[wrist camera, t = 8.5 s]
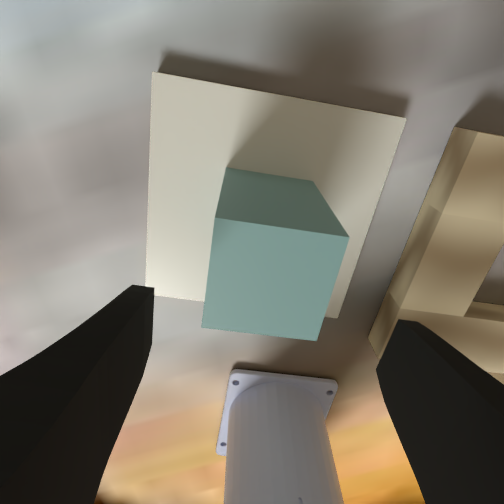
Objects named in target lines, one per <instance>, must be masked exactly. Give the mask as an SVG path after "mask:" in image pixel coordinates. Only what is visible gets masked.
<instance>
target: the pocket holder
mask: <svg viewBox="0 0 504 504" xmlns="http://www.w3.org/2000/svg"><path fill="white" fill-rule="evenodd" d="M503 244H504V136H502V135H496V134H491V133H486V132H480V131H475V130H469V129H464V128H458V127H454V129H453V131H452V133H451V136H450V138H449V141H448V143H447V146H446V148H445V151H444V153H443V155H442V158H441V160H440V163H439V165H438V168H437V170H436V173H435V175H434V177H433V180H432V182H431V185H430V187H429V190H428V192H427V194H426V197H425V199H424V202H423V204H422V207H421V209H420V212H419V214H418V216H417V219H416V221H415V224H414V226H413V229H412V231H411V234H410V236H409V238H408V241H407V243H406V246H405V248H404V251H403V253H402V256H401V258H400V260H399V263H398V265H397V268H396V270H395V273H394V275H393V278H392V280H391V282H390V285H389V287H388V290H387V292H386V295H385V297H384V300H383V302H382V304H381V307H380V309H379V312H378V314H377V317H376V319H375V322H374V324H373V326H372V329H371V331H370V334H369V336H368V339H369V341H370V343H371V345H372V348H373V350H374V352H375V354H376V356H377V358H378V359H381V357H382V355H383V352H384V350H385V348H386V346H387V343H388V341H389V339H390V337H391V334H392V332H393V330H394V328H395V325H396V323H397V321H398V319H402V320H410V321H417V322H419V323H421V324H422V325H424V326H425V327H427V328H428V329H430V330H431V331H433V332H434V333H435V334H437V335H438V336H440V337H441V338H442V339H444V340H445V341H446V342H448V343H449V344H450V345H452V346H453V347H454V348H455V349H457V350H458V351H459V352H461V353H462V354H463V355H465V356H466V357H467V358H469V359H470V360H471V361H472V362H474V363H475V364H476V365H478V366H479V367H480V368H482V369H483V370H484V371H486V372H494V373H503V374H504V305H496V304H489V303H482V302H474V301H472V300H473V298H474V297H475V295H476V293H477V291H478V289H479V288H480V286H481V284H482V282H483V280H484V279H485V277H486V275H487V273H488V271H489V269H490V268H491V266H492V264H493V262H494V260H495V259H496V257H497V255H498V253H499V251H500V249H501V248H502V246H503Z"/></svg>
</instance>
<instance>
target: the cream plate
mask: <svg viewBox="0 0 504 504" xmlns="http://www.w3.org/2000/svg"><path fill="white" fill-rule="evenodd" d="M406 120H407V118H403V117H399V116H393V115H388V114H382V113H377V112H372V111H366V110H361V109H355V108H350V107H344V106H339V105H334V104H328V103H323V102H317V101H312V100H306V99H301V98H296V97H290V96H285V95H279V94H274V93H268V92H263V91H258V90H252V89H247V88H241V87H236V86H230V85H225V84H220V83H214V82H209V81H203V80H198V79H192V78H187V77H182V76H176V75H171V74H165V73H160V72H152V92H151V124H150V156H149V188H148V220H147V252H146V284H145V286H146V287H153V288H154V295H156V296H164V297H172V298H180V299H188V300H195V301H203V302H204V301H205V293H206V285H207V277H208V269H209V260H210V252H211V244H212V236H213V228H214V219H215V214H216V210H217V205H218V201H219V196H220V192H221V187H222V183H223V178H224V174H225V169H226V167H228V168H234V169H240V170H246V171H253V172H259V173H265V174H272V175H278V176H284V177H290V178H297V179H303V180H309V181H313V182H314V184H315V185H316V187H317V188H318V190H319V191H320V193H321V194H322V196H323V197H324V199H325V200H326V202H327V203H328V205H329V207H330V208H331V210H332V211H333V213H334V214H335V216H336V217H337V219H338V220H339V222H340V223H341V225H342V226H343V228H344V229H345V231H346V232H347V234H348V235H349V237H350V238H349V241H348V244H347V248H346V251H345V254H344V257H343V260H342V263H341V266H340V269H339V273H338V276H337V279H336V282H335V285H334V288H333V291H332V294H331V297H330V301H329V304H328V307H327V310H326V313H325V316H324V317H330V318H337V319H338V316H339V313H340V310H341V307H342V304H343V301H344V298H345V296H346V293H347V290H348V287H349V284H350V281H351V278H352V275H353V272H354V270H355V267H356V264H357V261H358V258H359V255H360V252H361V249H362V247H363V244H364V241H365V238H366V235H367V232H368V229H369V226H370V223H371V221H372V218H373V215H374V212H375V209H376V206H377V203H378V200H379V198H380V195H381V192H382V189H383V186H384V183H385V180H386V177H387V174H388V172H389V169H390V166H391V163H392V160H393V157H394V154H395V151H396V148H397V146H398V143H399V140H400V137H401V134H402V131H403V128H404V125H405V123H406Z"/></svg>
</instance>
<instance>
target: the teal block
mask: <svg viewBox="0 0 504 504" xmlns="http://www.w3.org/2000/svg"><path fill="white" fill-rule="evenodd" d="M349 238H350V237H349V235H348V234H347V232H346V231H345V229H344V228H343V226H342V225H341V223H340V222H339V220H338V219H337V217H336V216H335V214H334V213H333V211H332V210H331V208H330V207H329V205H328V203H327V202H326V200H325V199H324V197H323V196H322V194H321V193H320V191H319V190H318V188H317V187H316V185H315V184H314V182H313V181H309V180H303V179H297V178H290V177H284V176H278V175H272V174H265V173H259V172H253V171H246V170H240V169H234V168H228V167H226V169H225V174H224V178H223V183H222V187H221V192H220V196H219V201H218V205H217V210H216V214H215V219H214V228H213V236H212V244H211V252H210V260H209V269H208V277H207V285H206V293H205V301H204V310H203V318H202V326H201V328H209V329H217V330H226V331H234V332H243V333H251V334H260V335H268V336H277V337H285V338H294V339H302V340H311V341H317V338H318V335H319V332H320V329H321V326H322V322H323V319H324V316H325V313H326V310H327V307H328V304H329V301H330V297H331V294H332V291H333V288H334V285H335V282H336V279H337V276H338V273H339V269H340V266H341V263H342V260H343V257H344V254H345V251H346V248H347V244H348V241H349Z"/></svg>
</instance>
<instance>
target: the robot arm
mask: <svg viewBox="0 0 504 504" xmlns="http://www.w3.org/2000/svg"><path fill="white" fill-rule="evenodd" d="M153 309H154V288H153V287H146V286H138V285H132V286H130V287H129V288H127V289H126V290H125V291H123V292H122V293H121V294H120V295H118V296H117V297H116V298H115V299H113V300H112V301H111V302H110V303H108V304H107V305H106V306H105V307H103V308H102V309H101V310H100V311H98V312H97V313H96V314H94V315H93V316H92V317H90V318H89V319H88V320H86V321H85V322H84V323H82V324H81V325H80V326H78V327H77V328H76V329H74V330H73V331H71V332H70V333H68V334H67V335H65V336H64V337H63V338H61V339H60V340H58V341H57V342H55V343H54V344H52V345H51V346H49V347H48V348H46V349H45V350H43V351H42V352H40V353H39V354H37V355H35V356H34V357H32V358H31V359H29V360H27V361H26V362H24V363H22V364H20V365H19V366H17V367H15V368H13V369H12V370H10V371H8V372H6V373H5V374H3V375H1V376H0V504H94V501H95V498H96V494H97V491H98V488H99V485H100V482H101V479H102V476H103V473H104V470H105V467H106V465H107V462H108V459H109V457H110V454H111V452H112V449H113V447H114V444H115V442H116V440H117V437H118V435H119V432H120V430H121V428H122V425H123V423H124V420H125V418H126V416H127V413H128V411H129V408H130V406H131V404H132V401H133V399H134V396H135V394H136V391H137V389H138V387H139V384H140V382H141V379H142V377H143V373H144V370H145V367H146V363H147V360H148V356H149V352H150V349H151V345H152V331H153ZM376 372H377V376H378V380H379V384H380V388H381V391H382V395H383V398H384V402H385V404H386V407H387V409H388V412H389V414H390V417H391V419H392V422H393V424H394V427H395V429H396V432H397V434H398V436H399V439H400V441H401V443H402V446H403V448H404V451H405V453H406V455H407V458H408V460H409V463H410V465H411V467H412V470H413V472H414V474H415V477H416V479H417V482H418V484H419V487H420V490H421V492H422V495H423V498H424V500H425V503H426V504H504V385H503V384H502V383H501V382H499V381H498V380H496V379H495V378H494V377H492V376H491V375H490V374H488V373H487V372H486V371H484V370H483V369H482V368H480V367H479V366H478V365H476V364H475V363H474V362H472V361H471V360H470V359H469V358H467V357H466V356H465V355H463V354H462V353H461V352H459V351H458V350H457V349H455V348H454V347H453V346H452V345H450V344H449V343H448V342H446V341H445V340H444V339H442V338H441V337H440V336H438V335H437V334H435V333H434V332H433V331H431V330H430V329H428V328H427V327H425V326H424V325H422V324H421V323H419V322H417V321H410V320H402V319H398V321H397V323H396V325H395V328H394V330H393V332H392V334H391V337H390V339H389V341H388V343H387V346H386V348H385V350H384V352H383V355H382V357H381V359H380V361H379V364H378V366H377V368H376ZM234 380H237V381H234ZM337 389H338V384H337V382H336V381H335V380H332V379H323V378H314V377H305V376H296V375H286V374H277V373H268V372H259V371H250V370H241V369H234V370H232V371H231V372H230V376H229V381H228V387H227V392H226V397H225V403H224V408H223V413H222V419H221V424H220V429H219V435H218V440H217V445H216V453H217V454H218V455H223V456H226V472H225V491H224V504H344V502H343V497H342V493H341V489H340V484H339V480H338V476H337V471H336V467H335V463H334V458H333V454H332V450H331V445H330V441H329V437H328V432H327V428H326V424H325V420H326V417H327V415H328V412H329V410H330V407H331V405H332V402H333V400H334V397H335V395H336V392H337ZM329 390H330V391H329Z"/></svg>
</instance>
